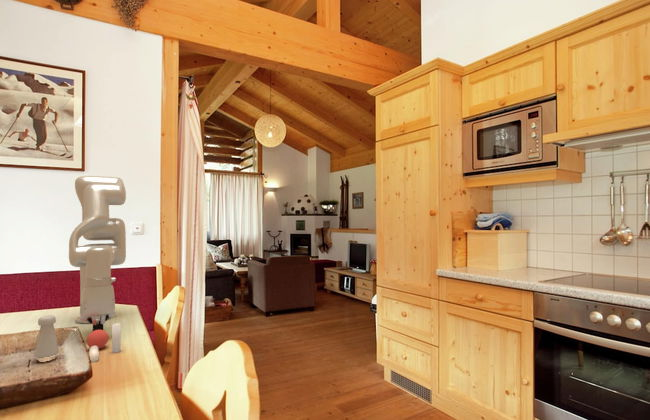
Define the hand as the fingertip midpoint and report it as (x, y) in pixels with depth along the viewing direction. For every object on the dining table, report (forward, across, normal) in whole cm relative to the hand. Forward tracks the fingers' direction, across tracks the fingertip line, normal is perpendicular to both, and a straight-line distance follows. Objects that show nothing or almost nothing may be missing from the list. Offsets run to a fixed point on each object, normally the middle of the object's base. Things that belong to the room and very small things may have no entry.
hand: (97, 335), depth 131 cm
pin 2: (+2, -2, +17) cm, 18 cm away
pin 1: (0, +3, +14) cm, 15 cm away
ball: (-2, +2, +10) cm, 11 cm away
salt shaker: (+2, +15, +12) cm, 19 cm away
